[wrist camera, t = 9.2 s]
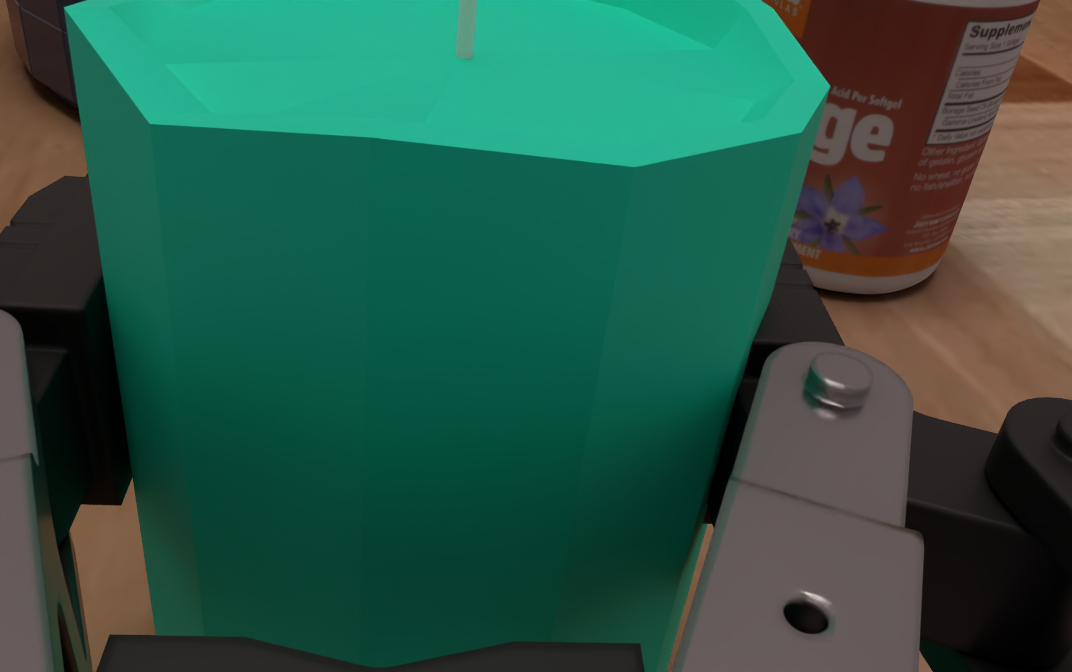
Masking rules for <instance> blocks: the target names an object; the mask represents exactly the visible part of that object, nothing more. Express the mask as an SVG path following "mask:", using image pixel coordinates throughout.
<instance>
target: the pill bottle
mask: <svg viewBox="0 0 1072 672" xmlns="http://www.w3.org/2000/svg"><path fill="white" fill-rule="evenodd" d="M762 2H764V3H765V4H767V5H768V6H770V7H771V8H773V9H774V10H775V12H776V13H777V14H778V16H779V17H780V19H781V20H782V21H783V23H784V24H785V25H786V27H787V28H788V29H789V31H790V32H791V33H792V35H793V36H794V37H795V39H796V40H797V42H798V43H799V44H800V46H801V47H802V48H803V50H804V51H805V52H806V54H807V55H808V56H809V58H810V59H811V61H812V62H813V63H814V65H815V66H816V67H817V69H818V70H819V71H820V73H821V74H822V75H823V77H824V78H825V80H826V81H827V82H828V84H829V85H830V90H829V93H828V97H827V100H826V104H825V107H824V111H823V114H822V118H821V122H820V125H819V129H818V132H817V136H816V139H815V143H814V146H813V150H812V154H811V157H810V161H809V164H808V168H807V171H806V175H805V178H804V182H803V186H802V189H801V193H800V196H799V200H798V203H797V207H796V210H795V214H794V218H793V221H792V225H791V228H790V232H789V235H788V238H789V239H790V240H791V242H792V244H793V246H794V248H795V250H796V252H797V254H798V256H799V258H800V259H801V261H802V263H803V269H805V270H806V271H807V273H808V275H809V277H810V279H811V281H812V283H813V285H814V287H817V288H822V289H827V290H832V291H839V292H845V293H856V294H882V293H889V292H894V291H899V290H902V289H905V288H908V287H911V286H913V285H915V284H917V283H919V282H921V281H922V280H924V279H926V278H927V277H928V276H929V275H930V274H932V273H933V271H934V270H935V269H936V268H937V267H938V265H939V263H940V262H941V260H942V258H943V255H944V253H945V250H946V248H947V245H948V243H949V240H950V237H951V235H952V232H953V229H954V227H955V224H956V221H957V219H958V216H959V213H960V211H961V208H962V205H963V203H964V200H965V198H966V195H967V192H968V190H969V187H970V184H971V181H972V178H973V176H974V173H975V170H976V168H977V165H978V162H979V160H980V157H981V155H982V152H983V150H984V147H985V144H986V142H987V139H988V136H989V133H990V130H991V128H992V126H993V123H994V120H995V117H996V114H997V112H998V110H999V107H1000V104H1001V101H1002V98H1003V96H1004V93H1005V90H1006V88H1007V85H1008V83H1009V80H1010V78H1011V75H1012V72H1013V70H1014V67H1015V64H1016V62H1017V59H1018V56H1019V54H1020V51H1021V48H1022V46H1023V43H1024V40H1025V38H1026V35H1027V33H1028V30H1029V27H1030V25H1031V22H1032V19H1033V17H1034V15H1035V12H1036V10H1037V7H1038V4H1039V2H1040V0H762Z"/></svg>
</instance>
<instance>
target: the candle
mask: <svg viewBox="0 0 1072 672" xmlns="http://www.w3.org/2000/svg"><path fill="white" fill-rule="evenodd" d="M64 13H65V19H66V26H67V33H68V40H69V47H70V53H71V60H72V67H73V74H74V81H75V87H76V94H77V101H78V108H79V115H80V121H81V128H82V135H83V142H84V149H85V156H86V162H87V169H88V176H89V183H90V190H91V196H92V203H93V210H94V217H95V224H96V230H97V237H98V244H99V251H100V258H101V264H102V271H103V278H104V285H105V292H106V299H107V305H108V312H109V319H110V326H111V333H112V339H113V346H114V353H115V360H116V367H117V373H118V380H119V387H120V394H121V401H122V407H123V414H124V421H125V428H126V435H127V441H128V448H129V455H130V462H131V469H132V476H133V482H134V489H135V496H136V503H137V510H138V516H139V523H140V530H141V537H142V544H143V550H144V557H145V564H146V571H147V578H148V584H149V591H150V598H151V605H152V612H153V619H154V625H155V632H156V635H162V636H222V637H247V638H252V639H256V640H260V641H264V642H268V643H272V644H276V645H280V646H285V647H289V648H293V649H297V650H301V651H305V652H309V653H313V654H318V655H322V656H326V657H330V658H334V659H338V660H342V661H347V662H351V663H355V664H359V665H363V666H368V667H381V668H384V667H392V666H397V665H402V664H407V663H412V662H417V661H422V660H426V659H431V658H436V657H441V656H446V655H451V654H456V653H460V652H465V651H470V650H475V649H480V648H485V647H490V646H495V645H499V644H504V643H509V642H514V641H522V642H583V643H640V645H641V652H642V658H643V664H644V670H645V672H666V669H667V666H668V662H669V659H670V655H671V651H672V648H673V644H674V641H675V637H676V634H677V630H678V627H679V623H680V619H681V616H682V612H683V609H684V605H685V602H686V598H687V595H688V591H689V587H690V584H691V580H692V577H693V573H694V570H695V566H696V563H697V559H698V555H699V552H700V548H701V545H702V541H703V538H704V534H705V531H706V527H707V524H702V523H703V520H704V516H705V512H706V509H707V501H708V497H709V494H710V490H711V486H712V483H713V479H714V475H715V472H716V468H717V464H718V461H719V457H720V453H721V449H722V446H723V442H724V438H725V435H726V431H727V427H728V424H729V420H730V416H731V413H732V409H733V405H734V402H735V398H736V394H737V391H738V388H739V385H740V383H741V381H742V378H743V375H744V371H745V367H746V364H747V360H748V356H749V353H750V349H751V346H752V342H753V340H754V337H755V335H756V333H757V330H758V328H759V326H760V323H761V321H762V318H763V316H764V314H765V311H766V309H767V307H768V304H769V302H770V299H771V296H772V292H773V289H774V285H775V282H776V278H777V275H778V271H779V267H780V264H781V260H782V257H783V253H784V250H785V246H786V243H787V239H788V235H789V232H790V228H791V225H792V221H793V218H794V214H795V210H796V207H797V203H798V200H799V196H800V193H801V189H802V186H803V182H804V178H805V175H806V171H807V168H808V164H809V161H810V157H811V154H812V150H813V146H814V143H815V139H816V136H817V132H818V129H819V125H820V122H821V118H822V114H823V111H824V107H825V104H826V100H827V97H828V93H829V90H830V85H829V84H828V82H827V81H826V80H825V78H824V77H823V75H822V74H821V73H820V71H819V70H818V69H817V67H816V66H815V65H814V63H813V62H812V61H811V59H810V58H809V56H808V55H807V54H806V52H805V51H804V50H803V48H802V47H801V46H800V44H799V43H798V42H797V40H796V39H795V37H794V36H793V35H792V33H791V32H790V31H789V29H788V28H787V27H786V25H785V24H784V23H783V21H782V20H781V19H780V17H779V16H778V14H777V13H776V12H775V10H774V9H773V8H771V7H770V6H768V5H767V4H765V3H764V2H762V1H761V0H86V1H82V2H79V3H76V4H73V5H69V6H66V7H64Z"/></svg>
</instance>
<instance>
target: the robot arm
mask: <svg viewBox="0 0 1072 672" xmlns="http://www.w3.org/2000/svg"><path fill="white" fill-rule="evenodd" d="M813 286H814V285H813V283H812V281H811V279H810V277H809V275H808V273H807V271H806V270H805V269H803V263H802V261H801V259H800V258H799V256H798V254H797V252H796V250H795V248H794V246H793V244H792V242H791V240H790V239H789V238H788V239H787V243H786V246H785V250H784V253H783V257H782V260H781V264H780V267H779V271H778V275H777V278H776V282H775V285H774V289H773V292H772V296H771V299H770V302H769V304H768V307H767V309H766V311H765V314H764V316H763V318H762V321H761V323H760V326H759V328H758V330H757V333H756V335H755V337H754V340H753V342H752V346H751V349H750V353H749V356H748V360H747V364H746V367H745V371H744V375H743V378H742V381H741V383H740V385H739V388H738V391H737V394H736V398H735V402H734V405H733V409H732V413H731V416H730V420H729V424H728V427H727V431H726V435H725V438H724V442H723V446H722V449H721V453H720V457H719V461H718V464H717V468H716V472H715V475H714V479H713V483H712V486H711V490H710V494H709V497H708V501H707V509H706V512H705V516H704V520H703V523H702V524H713V527H714V531H713V534H712V538H711V541H710V545H709V548H708V551H707V555H706V558H705V561H704V565H703V568H702V572H701V575H700V578H699V582H698V585H697V589H696V592H695V595H694V599H693V602H692V606H691V609H690V612H689V616H688V619H687V622H686V626H685V629H684V633H683V636H682V639H681V643H680V646H679V650H678V653H677V656H676V660H675V663H674V667H673V670H672V672H918V666H919V650H920V652H921V654H922V656H923V657H924V659H925V660H926V662H927V663H928V665H929V666H930V668H931V669H932V671H933V672H1072V400H1067V399H1062V398H1050V397H1046V398H1033V399H1027V400H1025V401H1022V402H1019V403H1018V404H1016V405H1015V406H1013V407H1012V408H1011V409H1010V411H1009V412H1008V413H1007V415H1006V418H1005V420H1004V422H1003V424H1002V426H1001V429H1000V431H999V433H998V434H996V433H992V432H988V431H984V430H980V429H976V428H972V427H968V426H964V425H960V424H956V423H952V422H948V421H944V420H940V419H936V418H933V417H930V416H926V415H924V414H921V413H918V412H916V411H913V397H912V394H911V391H910V389H909V388H908V386H907V385H906V383H905V382H904V380H903V379H902V378H901V377H900V376H899V375H898V374H897V373H896V372H895V371H893V370H892V369H891V368H890V367H888V366H887V365H885V364H884V363H882V362H881V361H879V360H877V359H876V358H874V357H872V356H870V355H868V354H865V353H863V352H860V351H858V350H855V349H852V348H849V347H846V346H845V345H844V343H843V341H842V339H841V337H840V335H839V333H838V331H837V329H836V327H835V325H834V323H833V322H832V320H831V318H830V316H829V314H828V312H827V310H826V308H825V306H824V304H823V302H822V300H821V298H820V296H819V294H818V292H817V290H813ZM132 477H133V476H132V469H131V462H130V455H129V448H128V441H127V435H126V428H125V421H124V414H123V407H122V401H121V394H120V387H119V380H118V373H117V367H116V360H115V353H114V346H113V339H112V333H111V326H110V319H109V312H108V305H107V299H106V292H105V285H104V278H103V271H102V264H101V258H100V251H99V244H98V237H97V230H96V224H95V217H94V210H93V203H92V196H91V190H90V183H89V176H88V174H87V175H86V177H74V176H64V177H63V178H61V179H59V180H57V181H55V182H54V183H52V184H50V185H48V186H47V187H45V188H43V189H41V190H40V191H38V192H36V193H34V194H33V195H31V196H29V197H28V199H27V200H26V201H25V203H24V204H23V205H22V206H21V208H20V209H19V210H18V212H17V213H16V214H15V216H14V217H13V218H12V219H11V221H10V226H6V227H5V228H4V230H3V231H2V232H1V234H0V672H93V669H92V663H91V656H90V649H89V643H88V636H87V629H86V622H85V616H84V609H83V602H82V595H81V589H80V582H79V575H78V568H77V562H76V555H75V549H74V545H73V541H72V537H71V533H70V527H71V525H72V523H73V521H74V518H75V516H76V514H77V512H78V509H79V507H80V505H81V504H89V505H122V502H123V499H124V497H125V494H126V492H127V489H128V487H129V484H130V482H131V479H132ZM97 672H645V670H644V664H643V658H642V652H641V645H640V643H583V642H522V641H514V642H509V643H504V644H499V645H495V646H490V647H485V648H480V649H475V650H470V651H465V652H460V653H456V654H451V655H446V656H441V657H436V658H431V659H426V660H422V661H417V662H412V663H407V664H402V665H397V666H392V667H384V668H381V667H368V666H363V665H359V664H355V663H351V662H347V661H342V660H338V659H334V658H330V657H326V656H322V655H318V654H313V653H309V652H305V651H301V650H297V649H293V648H289V647H285V646H280V645H276V644H272V643H268V642H264V641H260V640H256V639H252V638H247V637H222V636H162V635H109V638H108V641H107V644H106V646H105V649H104V652H103V655H102V658H101V660H100V663H99V666H98V669H97Z"/></svg>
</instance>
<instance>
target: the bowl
mask: <svg viewBox="0 0 1072 672" xmlns="http://www.w3.org/2000/svg"><path fill="white" fill-rule="evenodd" d="M82 1H86V0H6V3H7V8H8V13H9V18H10V23H11V28H12V32H13V37H14V42H15V47H16V50H17V52H18V53H19V55H20V57H21V58H22V60H23V62H24V63H25V65H26V67H27V68H28V70H29V72H30V73H31V75H32V76H33V77H34V78H35V79H37V80H38V81H40V82H42V83H43V84H45V85H46V86H48V87H49V88H51V89H52V90H53V92H54V93H55V94H56V95H58V96H59V97H60V98H62V99H63V100H64V101H66V102H67V103H68V104H70V105H71V106H72V107H74V108H76V109H78V110H79V108H78V101H77V94H76V87H75V81H74V74H73V67H72V60H71V53H70V47H69V40H68V33H67V26H66V19H65V13H64V7H66V6H69V5H73V4H76V3H79V2H82Z"/></svg>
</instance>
